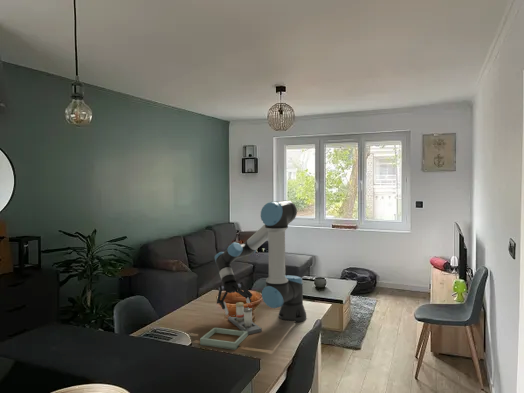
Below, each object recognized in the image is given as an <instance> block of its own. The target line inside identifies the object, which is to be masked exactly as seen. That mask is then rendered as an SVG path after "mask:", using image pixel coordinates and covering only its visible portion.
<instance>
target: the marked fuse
mask: <svg viewBox="0 0 524 393" xmlns="http://www.w3.org/2000/svg"><path fill="white" fill-rule="evenodd" d="M243 305H244V306H245V302H242V301H239V302H236V303H235V315H236V321H237V322H240V321H244V308H245V307H244V306H243Z"/></svg>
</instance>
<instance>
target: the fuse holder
mask: <svg viewBox="0 0 524 393" xmlns="http://www.w3.org/2000/svg"><path fill="white" fill-rule="evenodd" d="M231 316H232V315H231ZM231 316H228V317H227V319H228V321H229V322H231V323H232V324H233V325H234V326H236V327H237V329H239V331H247V332H248V335H252V334H257V333H261V332H262V331H263V329H262V327H261V326H259V325H258V324H256V323H255V322H253V321H252V327H249V328H245V327H244V321H240V322H237V321H236V317H231Z"/></svg>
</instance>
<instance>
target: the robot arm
mask: <svg viewBox="0 0 524 393" xmlns="http://www.w3.org/2000/svg"><path fill="white" fill-rule="evenodd" d="M297 209H298V208H297V207H296V205H295V203H294V202H292V201H290V200H286V199H285V200H276V201H269V202H267V203H265V204H264V205H263V206H262V208H261V211H260V219H261V221H262V223H263V225H262V226H261V227H260V228H259V229H257V231H255V232H254V233H253V235H251V236H250V237H249V238H248V239H247V240H246V241H244V243H239V242H236V241H234V242H231V244H230V245H229V246H228V247H227V248H226V249H225V251H220V252H218V253H216V254H215V255H214V261H215V265H216V267H217V270H218V273H219V277H220V279H221V283H222V285H219V286H218V294H217V299H216V304H218V305H220V306H221V309H222V310H224V313H225V314H224V315H225V316H228V315H229V312H230V311H229V309H228V306H227V303H226V301H225V299H226V298H227V295H228V294H235V293H237V294H239V295H240V296H242V297H243V298H245V301H246V304H247V303H250V302H252V297H253V293H252V292H251V291H250V290H249V289H248V288H247V287H246V286H245V285H244V283H243V282H242V281H241V282H239V283H237V279H236V276H235V274H234V272H233V267H232V264H233V262H235V260H237V259H240V258H244V257H247V256H252V255H254V254H256V252H257V250H258V248H260V247H261V246H262V245H263V244H264V243H265V242H268V244H267V245H268V249H267V250H268V277H267V278H266V279H265V286H264V288H263V289H262V291H261V298H262V301H263V302H264V303H265V305H266V306H267V307H269V308H270V309H277V308H279V311H278V318H279V319H280V320H283V321H287V322H294V323H296V324H297V323H302V322H304V321H306V320H307V312H306V309H305V307H304V301H303V298H304V296H303V292H304V291H303V290H304V289H303V287H304V286H303V278H302V277H300V276H297V275H289V274H288V275H286V231H287V229H288V227H289V225H290V224H291V223H292V222H293V221H294V220H295V219H296V217H297V215H298V210H297ZM223 290H225V292H224V293H223V296H222V291H223ZM221 297H222V298H221Z"/></svg>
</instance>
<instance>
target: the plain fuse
mask: <svg viewBox="0 0 524 393" xmlns="http://www.w3.org/2000/svg"><path fill="white" fill-rule="evenodd" d="M252 322H253V307H252V308H249V307H248V306H247V307H244V327H245V328H249V327H252Z"/></svg>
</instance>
